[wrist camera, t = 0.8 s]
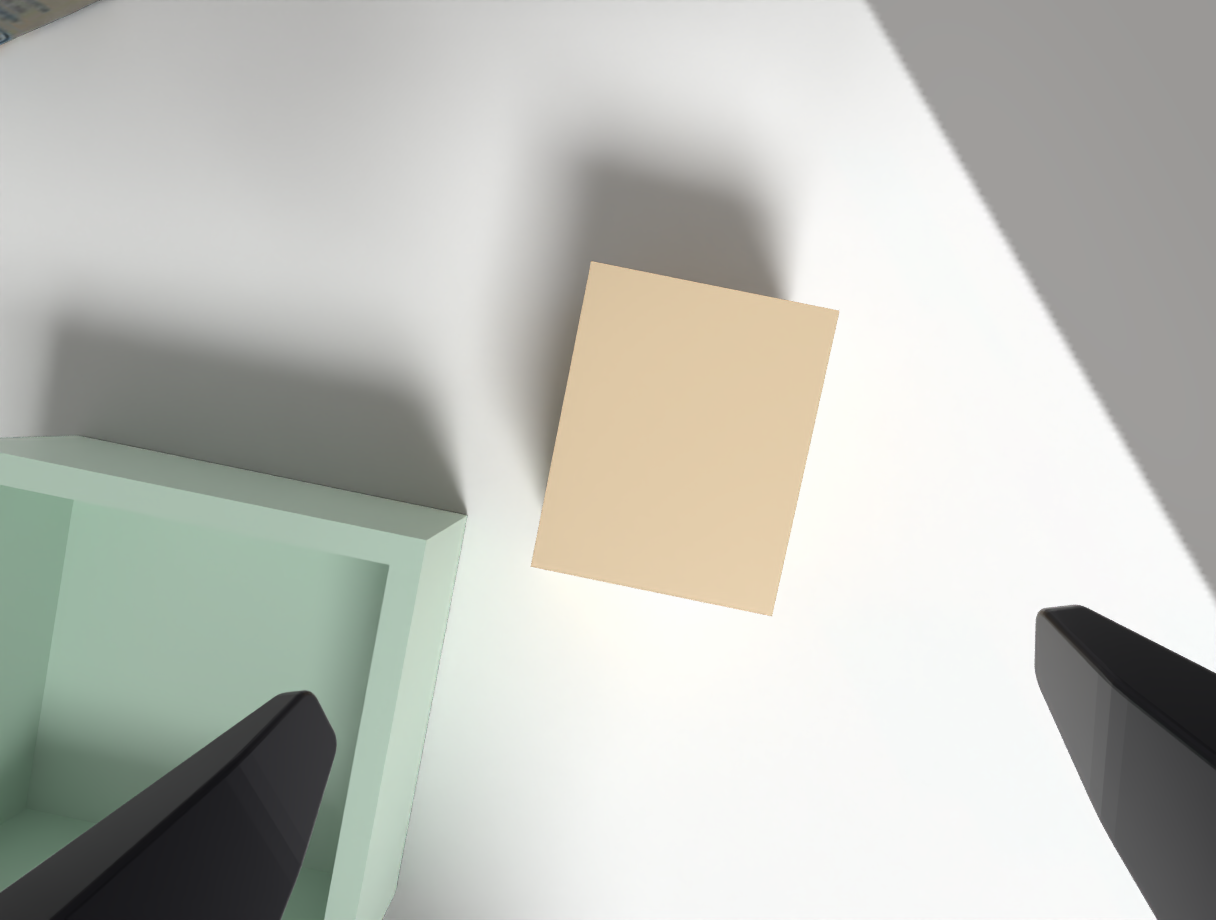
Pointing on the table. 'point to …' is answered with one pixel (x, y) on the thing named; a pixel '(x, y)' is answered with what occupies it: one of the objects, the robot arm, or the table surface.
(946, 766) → the table surface
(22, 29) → the beverage carton
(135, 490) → the tote
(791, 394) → the tan rectangular block
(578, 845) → the table surface
